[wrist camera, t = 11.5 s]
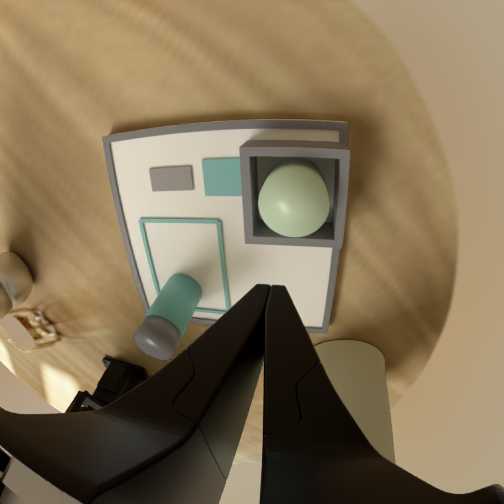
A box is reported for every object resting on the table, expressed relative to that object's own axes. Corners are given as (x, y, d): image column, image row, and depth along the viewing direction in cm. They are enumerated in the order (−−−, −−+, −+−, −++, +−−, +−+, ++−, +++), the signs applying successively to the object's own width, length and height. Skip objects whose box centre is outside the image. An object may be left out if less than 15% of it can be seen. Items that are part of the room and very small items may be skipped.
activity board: (327, 327, 23) (327, 354, 21) (149, 310, 26) (136, 332, 23) (346, 121, 15) (355, 126, 13) (108, 135, 18) (82, 144, 15)
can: (383, 387, 27) (391, 488, 17) (301, 397, 29) (290, 496, 19) (385, 331, 23) (405, 460, 13) (282, 345, 25) (263, 471, 15)
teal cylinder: (204, 305, 24) (179, 363, 18) (171, 301, 24) (140, 355, 19) (199, 275, 22) (168, 333, 17) (163, 272, 22) (127, 325, 17)
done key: (324, 216, 18) (327, 238, 15) (266, 213, 18) (259, 235, 16) (327, 158, 16) (331, 172, 13) (264, 157, 16) (256, 169, 14)
